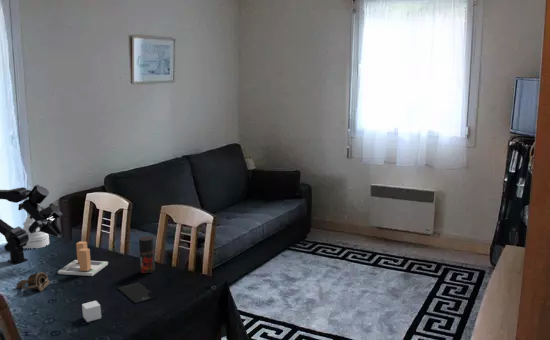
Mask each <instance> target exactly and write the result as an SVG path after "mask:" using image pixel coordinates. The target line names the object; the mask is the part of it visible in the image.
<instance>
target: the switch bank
mask: <svg viewBox="0 0 550 340" xmlns="http://www.w3.org/2000/svg"><path fill="white" fill-rule="evenodd" d="M108 265H109V261H103V260H102V261H101V260H99V261H98V260H91V269H90V270H88V271H80V264H79V263H78V260H77V259H74V260H73V261H71V262H70V263H68V264H67V265H64V267H62V268H61V269H59V270H58V271H57V274H58V275H67V276H68V275H69V276H71V275H72V276H84V277H85V276H88V277H93V276H94V275H96V274H98V273H99V272H100V271H101V270H102V269H104V268H106V266H108Z"/></svg>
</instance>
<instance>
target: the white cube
mask: <svg viewBox="0 0 550 340" xmlns="http://www.w3.org/2000/svg"><path fill="white" fill-rule="evenodd" d="M81 308H82V318H83V319H84V320H85V321H86V322H87V323H90V322H92V321H93V322H94V321H96V320H100V319H102V307H101V304H100V303H99V302H98V301H97V300H93V301H89V302H86V303H82V304H81Z"/></svg>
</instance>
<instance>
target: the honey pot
mask: <svg viewBox="0 0 550 340" xmlns="http://www.w3.org/2000/svg"><path fill="white" fill-rule="evenodd" d="M29 217H30V215H29V214H28V215H27V217H26V219H25V221H24V222H23V223H22V225H23V228H22V229H23V230H25V231H26V233H27V234H28V237H29V240H28V242H27V245H26V246H24V247H23V249H25V248H27V249H26V250H34V249H33V248H36V249H39V248H44V247H47V246H48V245H50V236H49V235H50V234H47V233H44V232H39V230H40V228H39V227H38V228H37V229H36V232H34V233H32V234H31V233H30V232H29V229H28V228H29V227H30V226H31V224H32V223H33V222H34V221H35V220H34V219H33V218H32V219H30V218H29ZM46 245H47V246H46ZM28 248H29V249H28ZM30 248H31V249H30Z"/></svg>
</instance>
